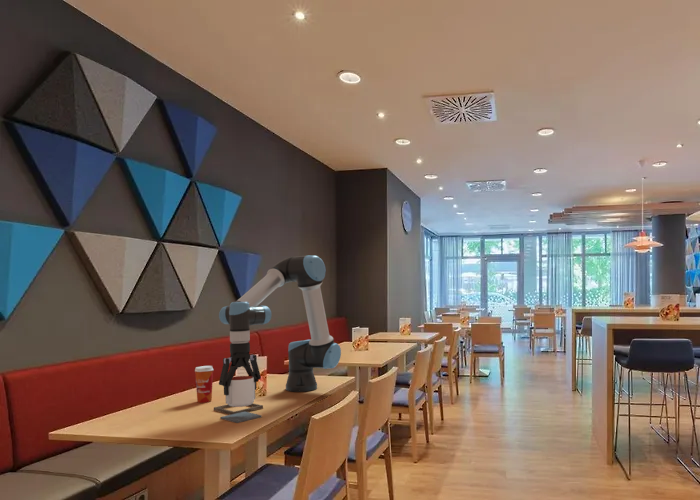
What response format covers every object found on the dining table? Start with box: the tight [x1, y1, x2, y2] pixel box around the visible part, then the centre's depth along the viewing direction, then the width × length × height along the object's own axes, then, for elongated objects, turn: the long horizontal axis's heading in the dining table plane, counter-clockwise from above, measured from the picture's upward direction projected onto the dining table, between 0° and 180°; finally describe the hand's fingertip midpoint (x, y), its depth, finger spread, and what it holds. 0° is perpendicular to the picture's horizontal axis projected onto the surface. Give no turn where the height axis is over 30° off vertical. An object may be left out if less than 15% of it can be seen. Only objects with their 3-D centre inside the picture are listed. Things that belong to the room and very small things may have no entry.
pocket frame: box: [213, 402, 264, 415], centre depth 214 cm, size 14×14×1 cm
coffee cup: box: [194, 365, 214, 404], centre depth 232 cm, size 8×8×15 cm
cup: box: [228, 375, 255, 408], centre depth 200 cm, size 10×10×10 cm
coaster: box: [220, 412, 263, 424], centre depth 199 cm, size 11×11×1 cm
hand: (240, 401), depth 200 cm, fingers closed on cup, 10 cm apart
